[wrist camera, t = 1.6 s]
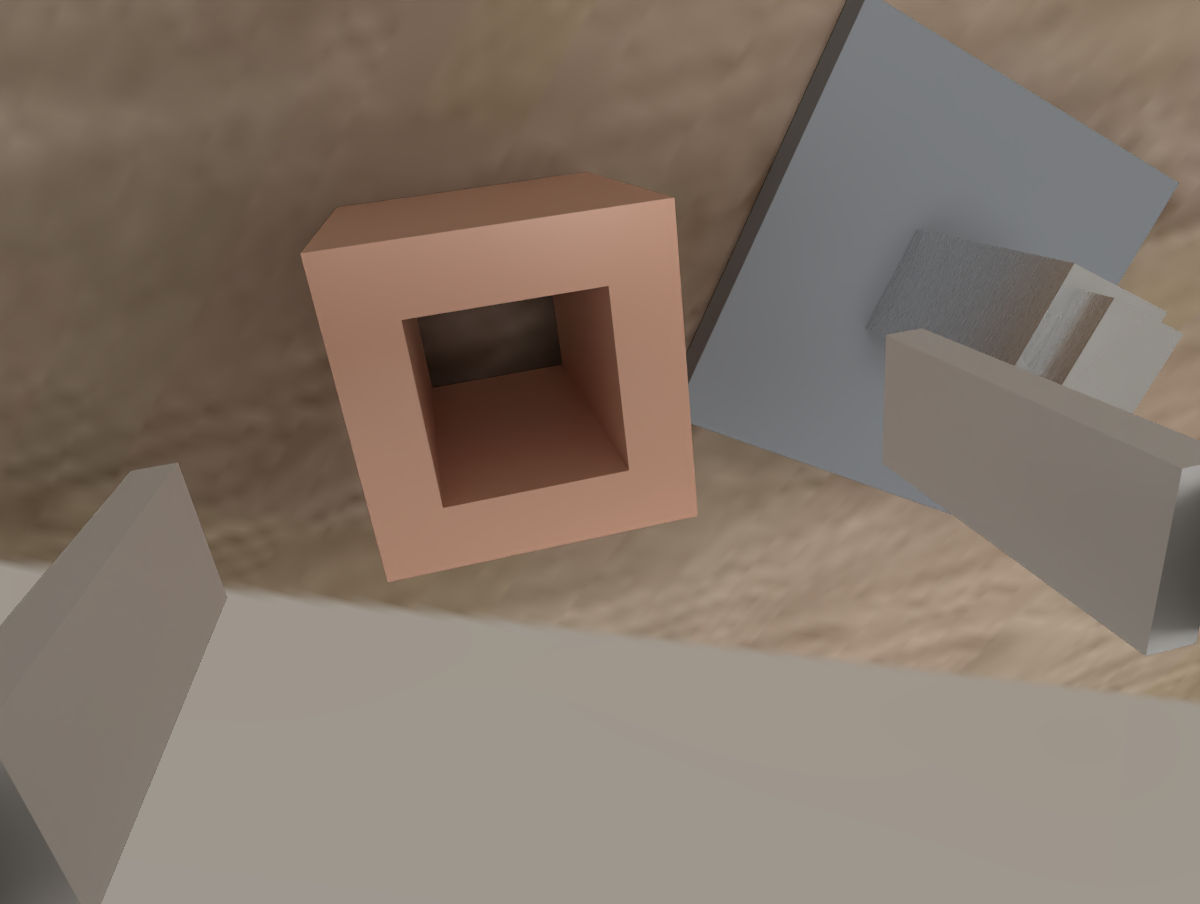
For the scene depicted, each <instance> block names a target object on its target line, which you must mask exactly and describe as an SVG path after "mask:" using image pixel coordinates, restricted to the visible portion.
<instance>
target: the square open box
mask: <svg viewBox="0 0 1200 904" xmlns="http://www.w3.org/2000/svg"><path fill="white" fill-rule="evenodd" d="M300 254H301V258H302V262H303V266H304V269H305V273H306V277H307V281H308V284H309V288H310V292H311V296H312V299H313V303H314V307H315V311H316V314H317V318H318V322H319V326H320V329H321V333H322V337H323V341H324V344H325V348H326V352H327V356H328V360H329V363H330V367H331V371H332V375H333V378H334V382H335V386H336V390H337V393H338V397H339V401H340V405H341V408H342V412H343V416H344V420H345V423H346V427H347V431H348V435H349V438H350V442H351V446H352V450H353V454H354V457H355V461H356V465H357V469H358V472H359V476H360V480H361V484H362V487H363V491H364V495H365V499H366V502H367V506H368V510H369V514H370V517H371V521H372V525H373V529H374V532H375V536H376V540H377V544H378V548H379V551H380V555H381V559H382V563H383V566H384V570H385V574H386V578H387V581H388V582H392V581H397V580H401V579H406V578H410V577H415V576H420V575H424V574H429V573H434V572H438V571H443V570H448V569H452V568H457V567H462V566H466V565H471V564H476V563H480V562H485V561H490V560H494V559H499V558H504V557H508V556H513V555H517V554H522V553H527V552H531V551H536V550H541V549H545V548H550V547H555V546H559V545H564V544H569V543H573V542H578V541H583V540H587V539H592V538H597V537H601V536H606V535H611V534H615V533H620V532H624V531H629V530H634V529H638V528H643V527H648V526H652V525H657V524H662V523H666V522H671V521H676V520H680V519H685V518H690V517H694V516H698V511H697V497H696V484H695V470H694V457H693V443H692V429H691V416H690V402H689V389H688V375H687V362H686V348H685V335H684V321H683V307H682V294H681V280H680V267H679V253H678V240H677V226H676V213H675V199H674V197H671V196H667V195H664V194H660V193H657V192H653V191H650V190H647V189H643V188H640V187H636V186H633V185H630V184H626V183H623V182H619V181H616V180H613V179H609V178H606V177H602V176H599V175H596V174H592V173H589V172H583V173H576V174H569V175H562V176H555V177H547V178H540V179H533V180H526V181H519V182H512V183H505V184H498V185H491V186H484V187H477V188H470V189H463V190H456V191H449V192H441V193H434V194H427V195H420V196H413V197H406V198H399V199H392V200H385V201H378V202H371V203H364V204H357V205H350V206H343V207H337V208H336V209H335V211H334V212H333V213H332V214H331V216H330V217H329V218H328V219H327V221H326V222H325V223H324V224H323V226H322V227H321V228H320V229H319V231H318V232H317V233H316V234H315V236H314V237H313V238H312V239H311V241H310V242H309V243H308V244H307V246H306V247H305V248H304V249H303V251H302V252H301V253H300ZM550 295H553V301H554V309H555V316H556V323H557V330H558V337H559V344H560V351H561V358H562V365H557V366H552V367H546V368H541V369H535V370H529V371H524V372H518V373H513V374H507V375H502V376H496V377H490V378H485V379H479V380H474V381H468V382H462V383H457V384H451V385H446V386H440V387H435V388H432V385H431V381H430V376H429V371H428V366H427V362H426V357H425V352H424V348H423V343H422V338H421V334H420V329H419V324H418V320H417V317H423V316H429V315H435V314H441V313H447V312H453V311H459V310H465V309H471V308H478V307H484V306H490V305H496V304H502V303H508V302H514V301H520V300H526V299H532V298H538V297H544V296H550Z"/></svg>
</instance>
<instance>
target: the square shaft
mask: <svg viewBox="0 0 1200 904" xmlns="http://www.w3.org/2000/svg"><path fill="white" fill-rule="evenodd" d="M1166 313H1167V312H1166V311H1164V310H1162V309H1160V308H1158V307H1156V306H1155V305H1153V304H1151V303H1149V302H1147V301H1145V300H1143V299H1141V298H1139V297H1137V296H1136V295H1134V294H1132V293H1130V292H1128V291H1126V290H1124V289H1122V288H1120V287H1119V286H1117V285H1115V284H1113V283H1111V282H1109V281H1107V280H1105V279H1103V278H1101V277H1100V276H1098V275H1096V274H1094V273H1092V272H1090V271H1088V270H1086V269H1084V268H1083V267H1081V266H1079V265H1077V264H1075V263H1071V262H1066V261H1062V260H1057V259H1052V258H1048V257H1043V256H1039V255H1034V254H1029V253H1025V252H1020V251H1015V250H1011V249H1006V248H1002V247H997V246H992V245H988V244H983V243H978V242H974V241H969V240H964V239H960V238H955V237H951V236H946V235H941V234H937V233H932V232H927V231H923V230H918V229H916V230H915V232H914V234H913V236H912V238H911V240H910V242H909V244H908V246H907V248H906V249H905V251H904V253H903V255H902V257H901V259H900V261H899V263H898V265H897V267H896V269H895V271H894V273H893V275H892V277H891V279H890V280H889V282H888V284H887V286H886V288H885V290H884V292H883V294H882V296H881V298H880V300H879V302H878V304H877V306H876V308H875V309H874V311H873V313H872V315H871V317H870V319H869V321H868V323H867V325H866V327H865V329H867V330H869V331H871V332H873V333H875V334H877V335H880V336H882V337H884V338H886V335H888V334H894V333H899V332H905V331H910V330H916V329H921V328H922V329H925V330H927V331H930V332H932V333H935V334H937V335H940V336H942V337H944V338H947V339H949V340H952V341H954V342H957V343H959V344H962V345H964V346H967V347H969V348H972V349H974V350H977V351H979V352H981V353H984V354H986V355H989V356H991V357H994V358H996V359H999V360H1001V361H1004V362H1006V363H1009V364H1011V365H1014V366H1016V367H1018V368H1021V369H1023V370H1026V371H1028V372H1031V373H1033V374H1036V375H1038V376H1041V377H1043V378H1046V379H1048V380H1051V381H1053V382H1056V383H1058V384H1060V385H1063V386H1065V387H1068V388H1070V389H1073V390H1075V391H1078V392H1080V393H1083V394H1085V395H1088V396H1090V397H1093V398H1095V399H1097V400H1100V401H1102V402H1105V403H1107V404H1110V405H1112V406H1115V407H1117V408H1120V409H1122V410H1125V411H1127V412H1130V413H1132V414H1133V412H1134V411H1135V409H1136V407H1137V406H1138V404H1139V403H1140V401H1141V400H1142V398H1143V396H1144V395H1145V393H1146V392H1147V390H1148V389H1149V387H1150V385H1151V384H1152V382H1153V381H1154V379H1155V378H1156V376H1157V374H1158V373H1159V371H1160V370H1161V368H1162V367H1163V365H1164V364H1165V362H1166V360H1167V359H1168V357H1169V356H1170V354H1171V353H1172V351H1173V349H1174V348H1175V346H1176V345H1177V343H1178V342H1179V340H1180V338H1181V337H1182V335H1183V333H1181V332H1179V331H1177V330H1175V329H1173V328H1171V327H1169V326H1167V325H1165V324H1163V323H1162V322H1161V321H1162V320H1163V318H1164V317H1165V315H1166Z"/></svg>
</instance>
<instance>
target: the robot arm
mask: <svg viewBox="0 0 1200 904" xmlns="http://www.w3.org/2000/svg"><path fill="white" fill-rule="evenodd" d="M882 463H883V464H884V465H885V466H887V467H888V468H890V469H891V470H892V471H894V472H895V473H896V474H898V475H899V476H900V477H902V478H903V479H905V480H906V481H907V482H909V483H910V484H911V485H913V486H914V487H915V488H917V489H918V490H920V491H921V492H922V493H924V494H925V495H926V496H928V497H929V498H931V499H932V500H933V501H935V502H936V503H937V504H939V505H940V506H941V507H943V508H944V509H946V510H947V511H948V512H950V513H951V514H952V515H954V516H955V517H956V518H958V519H959V520H961V521H962V522H963V523H965V524H966V525H967V526H969V527H970V528H971V529H973V530H974V531H976V532H977V533H978V534H980V535H981V536H982V537H984V538H985V539H986V540H988V541H989V542H991V543H992V544H993V545H995V546H996V547H997V548H999V549H1000V550H1001V551H1003V552H1004V553H1006V554H1007V555H1008V556H1010V557H1011V558H1012V559H1014V560H1015V561H1016V562H1018V563H1019V564H1021V565H1022V566H1023V567H1025V568H1026V569H1027V570H1029V571H1030V572H1032V573H1033V574H1034V575H1036V576H1037V577H1038V578H1040V579H1041V580H1042V581H1044V582H1045V583H1047V584H1048V585H1049V586H1051V587H1052V588H1053V589H1055V590H1056V591H1057V592H1059V593H1060V594H1062V595H1063V596H1064V597H1066V598H1067V599H1068V600H1070V601H1071V602H1072V603H1074V604H1075V605H1077V606H1078V607H1079V608H1081V609H1082V610H1083V611H1085V612H1086V613H1087V614H1089V615H1090V616H1092V617H1093V618H1094V619H1096V620H1097V621H1098V622H1100V623H1101V624H1102V625H1104V626H1105V627H1107V628H1108V629H1109V630H1111V631H1112V632H1113V633H1115V634H1116V635H1118V636H1119V637H1120V638H1122V639H1123V640H1124V641H1126V642H1127V643H1128V644H1130V645H1131V646H1133V647H1134V648H1135V649H1137V650H1138V651H1139V652H1141V653H1142V654H1143V655H1145V656H1148V655H1152V654H1156V653H1160V652H1164V651H1168V650H1172V649H1176V648H1179V647H1183V646H1187V645H1191V644H1195V643H1196V640H1197V636H1198V631H1199V627H1200V441H1199V440H1196V439H1194V438H1191V437H1189V436H1186V435H1184V434H1181V433H1179V432H1176V431H1174V430H1171V429H1169V428H1167V427H1164V426H1162V425H1159V424H1157V423H1154V422H1152V421H1149V420H1147V419H1144V418H1142V417H1139V416H1137V415H1134V414H1132V413H1130V412H1127V411H1125V410H1122V409H1120V408H1117V407H1115V406H1112V405H1110V404H1107V403H1105V402H1102V401H1100V400H1097V399H1095V398H1093V397H1090V396H1088V395H1085V394H1083V393H1080V392H1078V391H1075V390H1073V389H1070V388H1068V387H1065V386H1063V385H1060V384H1058V383H1056V382H1053V381H1051V380H1048V379H1046V378H1043V377H1041V376H1038V375H1036V374H1033V373H1031V372H1028V371H1026V370H1023V369H1021V368H1018V367H1016V366H1014V365H1011V364H1009V363H1006V362H1004V361H1001V360H999V359H996V358H994V357H991V356H989V355H986V354H984V353H981V352H979V351H977V350H974V349H972V348H969V347H967V346H964V345H962V344H959V343H957V342H954V341H952V340H949V339H947V338H944V337H942V336H940V335H937V334H935V333H932V332H930V331H927V330H925V329H922V328H921V329H916V330H910V331H905V332H899V333H894V334H888V335H886V351H885V386H884V422H883V457H882ZM226 598H227V596H226V593H225V591H224V588H223V585H222V582H221V580H220V577H219V574H218V571H217V569H216V566H215V563H214V560H213V558H212V555H211V552H210V549H209V547H208V544H207V541H206V538H205V536H204V533H203V530H202V527H201V525H200V522H199V519H198V516H197V514H196V511H195V508H194V505H193V503H192V500H191V497H190V494H189V492H188V489H187V486H186V483H185V481H184V478H183V475H182V472H181V470H180V467H179V464H178V462H177V463H172V464H166V465H161V466H155V467H150V468H144V469H138V470H133V471H130V472H129V473H128V475H127V476H126V477H125V478H124V479H123V480H122V482H121V483H120V484H119V485H118V486H117V488H116V489H115V490H114V491H113V492H112V494H111V495H110V496H109V497H108V498H107V500H106V501H105V502H104V503H103V504H102V505H101V507H100V508H99V509H98V510H97V511H96V513H95V514H94V515H93V516H92V517H91V519H90V520H89V521H88V522H87V523H86V524H85V526H84V527H83V528H82V529H81V530H80V532H79V533H78V534H77V535H76V536H75V538H74V539H73V540H72V541H71V542H70V543H69V545H68V546H67V547H66V548H65V549H64V551H63V552H62V553H61V554H60V555H59V557H58V558H57V559H56V560H55V561H54V563H53V564H52V565H51V566H50V567H49V568H48V570H47V571H46V572H45V573H44V574H43V576H42V577H41V578H40V579H39V580H38V582H37V583H36V584H35V585H34V586H33V588H32V589H31V590H30V591H29V592H28V594H27V595H26V596H25V597H24V598H23V599H22V601H21V602H20V603H19V604H18V606H17V607H16V608H15V609H14V610H13V611H12V613H11V614H10V615H9V616H8V617H7V619H6V620H5V621H4V622H3V623H2V624H1V626H0V904H101V902H102V900H103V898H104V895H105V893H106V890H107V888H108V885H109V883H110V881H111V878H112V876H113V873H114V871H115V868H116V866H117V863H118V861H119V859H120V856H121V853H122V851H123V849H124V847H125V844H126V842H127V839H128V837H129V834H130V832H131V829H132V827H133V825H134V822H135V820H136V817H137V815H138V812H139V810H140V808H141V805H142V802H143V800H144V798H145V795H146V793H147V791H148V788H149V786H150V783H151V781H152V778H153V776H154V774H155V771H156V769H157V766H158V764H159V761H160V759H161V757H162V754H163V752H164V749H165V747H166V744H167V742H168V740H169V737H170V735H171V732H172V730H173V727H174V725H175V723H176V720H177V718H178V715H179V713H180V710H181V708H182V706H183V703H184V700H185V698H186V696H187V693H188V691H189V689H190V686H191V684H192V681H193V679H194V676H195V674H196V672H197V669H198V667H199V664H200V662H201V659H202V657H203V654H204V652H205V650H206V647H207V644H208V642H209V640H210V637H211V635H212V633H213V630H214V628H215V625H216V623H217V620H218V618H219V616H220V613H221V611H222V608H223V606H224V603H225V601H226Z"/></svg>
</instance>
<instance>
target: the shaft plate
mask: <svg viewBox="0 0 1200 904" xmlns="http://www.w3.org/2000/svg"><path fill="white" fill-rule="evenodd" d="M1178 184H1179V183H1178V182H1176V181H1175V180H1173V179H1172V178H1170V177H1168V176H1167V175H1165V174H1163V173H1162V172H1160V171H1159V170H1157V169H1155V168H1154V167H1152V166H1150V165H1149V164H1147V163H1146V162H1144V161H1142V160H1141V159H1139V158H1137V157H1136V156H1134V155H1133V154H1131V153H1129V152H1128V151H1126V150H1124V149H1123V148H1121V147H1120V146H1118V145H1116V144H1115V143H1113V142H1111V141H1110V140H1108V139H1107V138H1105V137H1103V136H1102V135H1100V134H1098V133H1097V132H1095V131H1094V130H1092V129H1090V128H1089V127H1087V126H1086V125H1084V124H1082V123H1081V122H1079V121H1077V120H1076V119H1074V118H1073V117H1071V116H1069V115H1068V114H1066V113H1064V112H1063V111H1061V110H1060V109H1058V108H1056V107H1055V106H1053V105H1051V104H1050V103H1048V102H1047V101H1045V100H1043V99H1042V98H1040V97H1038V96H1037V95H1035V94H1034V93H1032V92H1030V91H1029V90H1027V89H1025V88H1024V87H1022V86H1021V85H1019V84H1017V83H1016V82H1014V81H1012V80H1011V79H1009V78H1008V77H1006V76H1004V75H1003V74H1001V73H999V72H998V71H996V70H995V69H993V68H991V67H990V66H988V65H986V64H985V63H983V62H982V61H980V60H978V59H977V58H975V57H974V56H972V55H970V54H969V53H967V52H965V51H964V50H962V49H961V48H959V47H957V46H956V45H954V44H952V43H951V42H949V41H948V40H946V39H944V38H943V37H941V36H939V35H938V34H936V33H935V32H933V31H931V30H930V29H928V28H926V27H925V26H923V25H922V24H920V23H918V22H917V21H915V20H913V19H912V18H910V17H909V16H907V15H905V14H904V13H902V12H900V11H899V10H897V9H896V8H894V7H892V6H891V5H889V4H887V3H886V2H884V1H883V0H847V2H846V4H845V6H844V8H843V10H842V13H841V15H840V17H839V19H838V21H837V24H836V26H835V28H834V30H833V32H832V35H831V37H830V39H829V41H828V43H827V46H826V48H825V50H824V52H823V54H822V57H821V59H820V61H819V63H818V65H817V68H816V70H815V72H814V74H813V76H812V79H811V81H810V83H809V85H808V87H807V90H806V92H805V94H804V96H803V98H802V101H801V103H800V105H799V107H798V109H797V112H796V114H795V116H794V118H793V120H792V123H791V125H790V127H789V129H788V131H787V134H786V136H785V138H784V140H783V142H782V145H781V147H780V149H779V151H778V153H777V156H776V158H775V160H774V162H773V164H772V167H771V169H770V171H769V173H768V175H767V178H766V180H765V182H764V184H763V187H762V189H761V191H760V193H759V195H758V198H757V200H756V202H755V204H754V206H753V209H752V211H751V213H750V215H749V217H748V220H747V222H746V224H745V226H744V228H743V231H742V233H741V235H740V237H739V239H738V242H737V244H736V246H735V248H734V250H733V253H732V255H731V257H730V259H729V261H728V264H727V266H726V268H725V270H724V272H723V275H722V277H721V279H720V281H719V283H718V286H717V288H716V290H715V292H714V294H713V297H712V299H711V301H710V303H709V305H708V308H707V310H706V312H705V314H704V316H703V319H702V321H701V323H700V325H699V327H698V330H697V332H696V334H695V336H694V338H693V341H692V343H691V345H690V347H689V349H688V352H687V354H686V362H687V375H688V389H689V402H690V416H691V424H693V425H696V426H699V427H702V428H705V429H708V430H711V431H713V432H716V433H719V434H722V435H725V436H728V437H731V438H734V439H736V440H739V441H742V442H745V443H748V444H751V445H754V446H757V447H759V448H762V449H765V450H768V451H771V452H774V453H777V454H780V455H782V456H785V457H788V458H791V459H794V460H797V461H800V462H802V463H805V464H808V465H811V466H814V467H817V468H820V469H823V470H825V471H828V472H831V473H834V474H837V475H840V476H843V477H846V478H848V479H851V480H854V481H857V482H860V483H863V484H866V485H868V486H871V487H874V488H877V489H880V490H883V491H886V492H889V493H891V494H894V495H897V496H900V497H903V498H906V499H909V500H912V501H914V502H917V503H920V504H923V505H926V506H929V507H932V508H935V509H937V510H940V511H943V512H946V513H949V514H951V513H950V512H948V511H947V510H946V509H944V508H943V507H941V506H940V505H939V504H937V503H936V502H935V501H933V500H932V499H931V498H929V497H928V496H926V495H925V494H924V493H922V492H921V491H920V490H918V489H917V488H915V487H914V486H913V485H911V484H910V483H909V482H907V481H906V480H905V479H903V478H902V477H900V476H899V475H898V474H896V473H895V472H894V471H892V470H891V469H890V468H888V467H887V466H885V465H884V464H883V463H882V457H883V422H884V386H885V351H886V338H884V337H882V336H880V335H877V334H875V333H873V332H871V331H869V330H867V329H865V327H866V325H867V323H868V321H869V319H870V317H871V315H872V313H873V311H874V309H875V308H876V306H877V304H878V302H879V300H880V298H881V296H882V294H883V292H884V290H885V288H886V286H887V284H888V282H889V280H890V279H891V277H892V275H893V273H894V271H895V269H896V267H897V265H898V263H899V261H900V259H901V257H902V255H903V253H904V251H905V249H906V248H907V246H908V244H909V242H910V240H911V238H912V236H913V234H914V232H915V230H916V229H918V230H923V231H927V232H932V233H937V234H941V235H946V236H951V237H955V238H960V239H964V240H969V241H974V242H978V243H983V244H988V245H992V246H997V247H1002V248H1006V249H1011V250H1015V251H1020V252H1025V253H1029V254H1034V255H1039V256H1043V257H1048V258H1052V259H1057V260H1062V261H1066V262H1071V263H1075V264H1077V265H1079V266H1081V267H1083V268H1084V269H1086V270H1088V271H1090V272H1092V273H1094V274H1096V275H1098V276H1100V277H1101V278H1103V279H1105V280H1107V281H1109V282H1111V283H1113V284H1115V285H1118V283H1119V282H1120V280H1121V278H1122V277H1123V275H1124V274H1125V272H1126V270H1127V269H1128V267H1129V265H1130V264H1131V262H1132V260H1133V259H1134V257H1135V255H1136V254H1137V252H1138V250H1139V249H1140V247H1141V245H1142V244H1143V242H1144V240H1145V239H1146V237H1147V235H1148V234H1149V232H1150V230H1151V229H1152V227H1153V225H1154V224H1155V222H1156V220H1157V219H1158V217H1159V215H1160V214H1161V212H1162V210H1163V209H1164V207H1165V205H1166V204H1167V202H1168V200H1169V199H1170V197H1171V195H1172V194H1173V192H1174V190H1175V189H1176V187H1177V185H1178Z"/></svg>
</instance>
